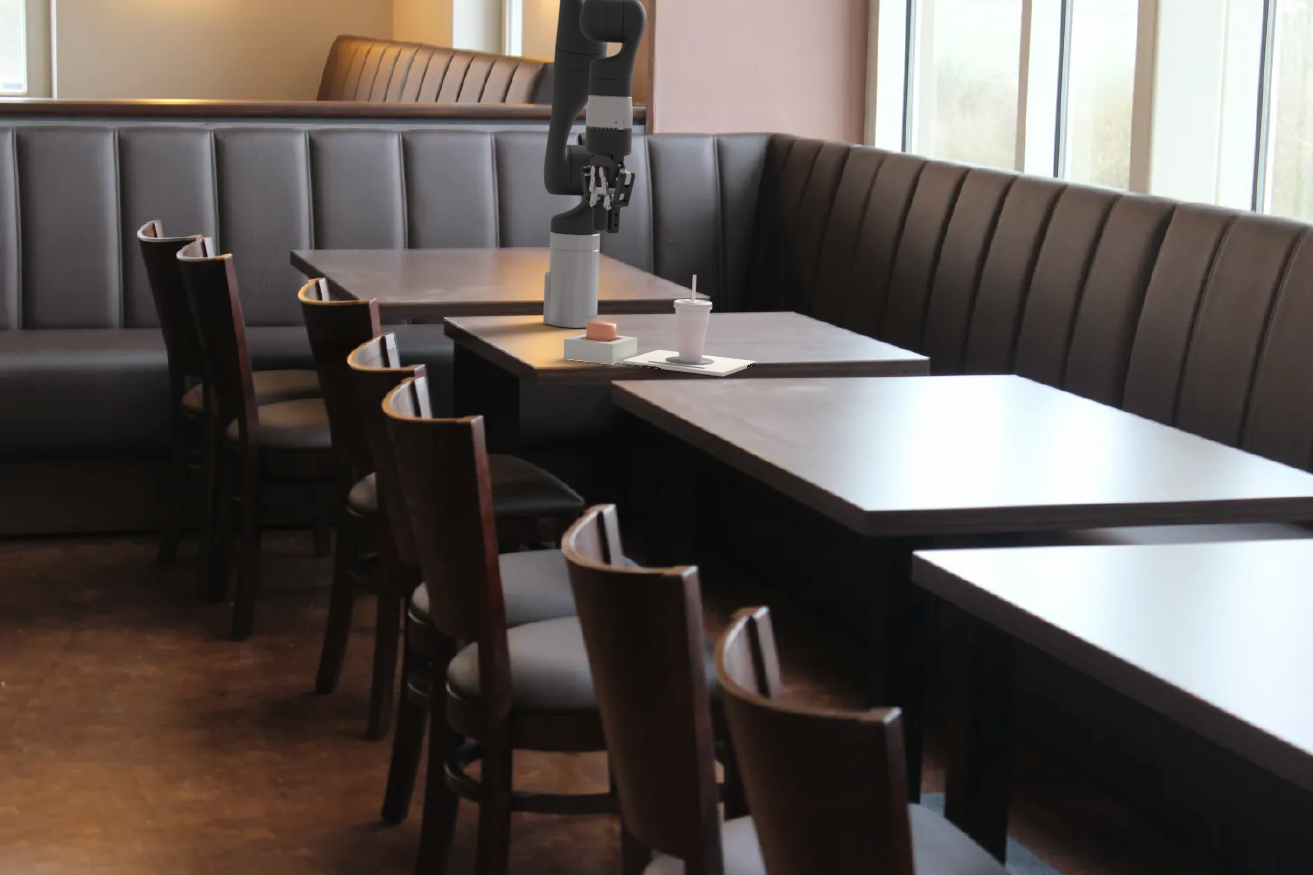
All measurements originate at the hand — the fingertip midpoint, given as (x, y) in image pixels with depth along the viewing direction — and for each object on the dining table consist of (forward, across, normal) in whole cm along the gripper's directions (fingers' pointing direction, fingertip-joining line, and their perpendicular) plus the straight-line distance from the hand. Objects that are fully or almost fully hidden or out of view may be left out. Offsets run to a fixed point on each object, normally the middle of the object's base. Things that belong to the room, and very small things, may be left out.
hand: (605, 231), depth 279 cm
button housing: (+21, 0, 0) cm, 21 cm away
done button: (+19, 0, 0) cm, 19 cm away
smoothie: (+21, +9, +12) cm, 26 cm away
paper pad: (+21, +9, +12) cm, 26 cm away
